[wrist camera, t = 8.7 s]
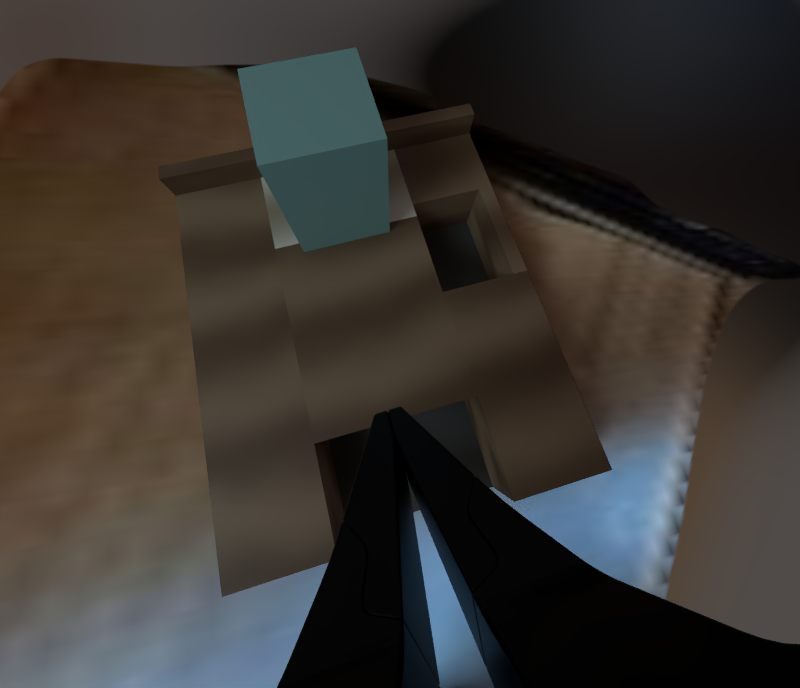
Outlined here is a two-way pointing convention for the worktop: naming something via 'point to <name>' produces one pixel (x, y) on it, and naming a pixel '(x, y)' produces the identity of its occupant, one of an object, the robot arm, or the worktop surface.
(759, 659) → the robot arm
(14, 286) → the worktop surface
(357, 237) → the teal block
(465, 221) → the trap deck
